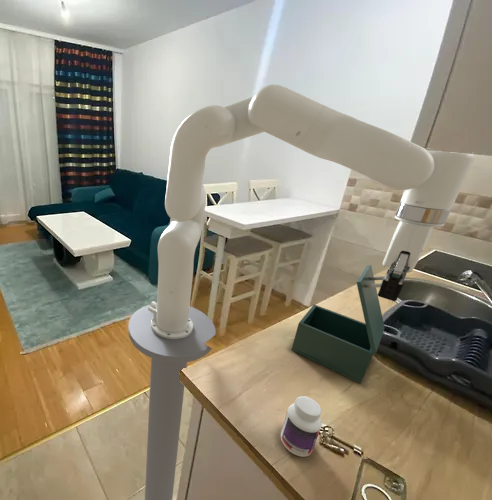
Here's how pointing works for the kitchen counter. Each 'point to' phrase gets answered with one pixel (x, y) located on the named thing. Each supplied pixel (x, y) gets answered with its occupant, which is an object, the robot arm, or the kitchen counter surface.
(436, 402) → the kitchen counter surface
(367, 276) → the box lid
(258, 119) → the robot arm
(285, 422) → the pill bottle
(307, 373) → the kitchen counter surface
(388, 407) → the kitchen counter surface
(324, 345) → the green open box
